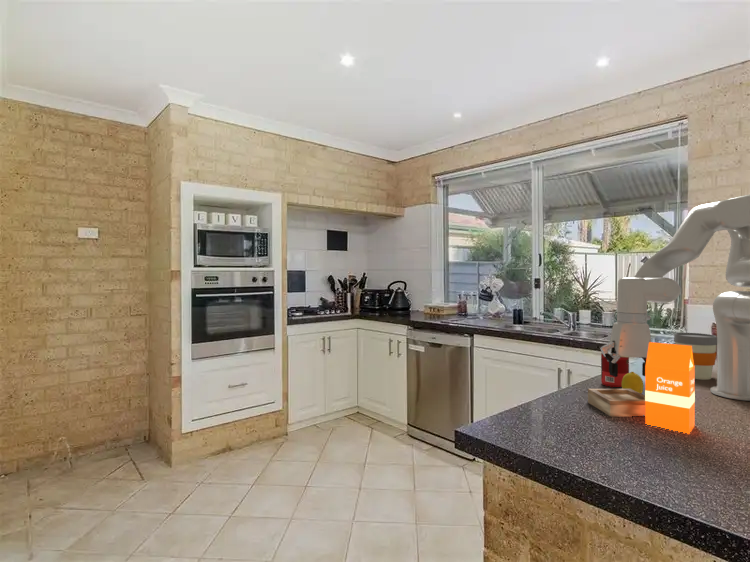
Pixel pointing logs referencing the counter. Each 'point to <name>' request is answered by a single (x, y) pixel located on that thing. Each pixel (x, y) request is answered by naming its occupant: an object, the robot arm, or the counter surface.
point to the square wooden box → (617, 401)
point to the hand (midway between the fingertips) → (630, 376)
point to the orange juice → (670, 387)
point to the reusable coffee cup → (700, 351)
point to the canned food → (622, 371)
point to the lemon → (632, 382)
